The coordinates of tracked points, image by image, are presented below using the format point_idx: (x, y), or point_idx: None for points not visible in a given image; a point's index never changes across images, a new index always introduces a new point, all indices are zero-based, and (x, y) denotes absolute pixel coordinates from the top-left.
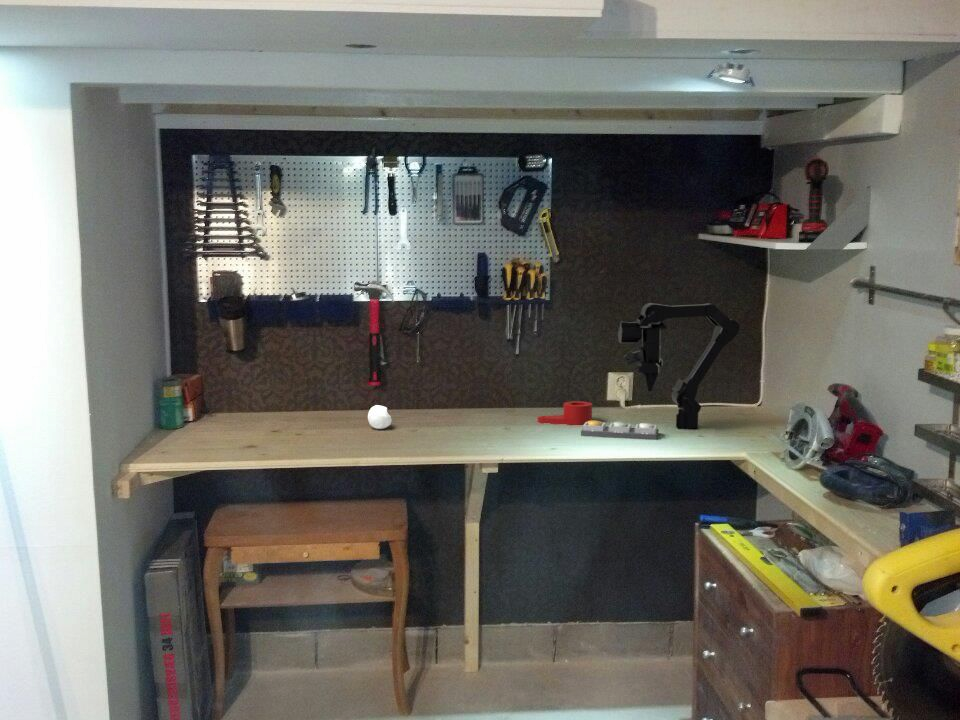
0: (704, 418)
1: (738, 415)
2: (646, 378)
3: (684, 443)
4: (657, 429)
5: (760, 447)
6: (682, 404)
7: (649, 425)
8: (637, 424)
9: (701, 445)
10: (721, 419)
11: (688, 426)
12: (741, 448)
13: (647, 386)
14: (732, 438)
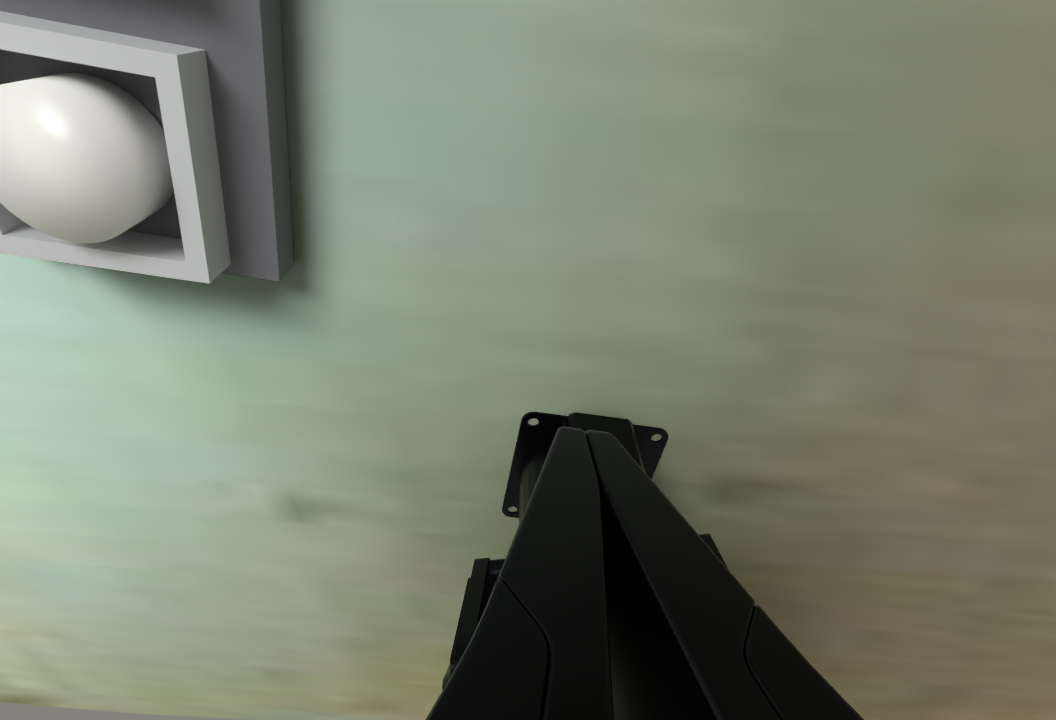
0: (869, 573)
1: (903, 690)
2: (447, 693)
3: (2, 408)
4: (249, 271)
5: (120, 680)
6: (465, 609)
7: (2, 204)
8: (153, 62)
9: (3, 488)
10: (816, 631)
11: (519, 485)
12: (47, 627)
13: (537, 483)
14: (291, 622)
